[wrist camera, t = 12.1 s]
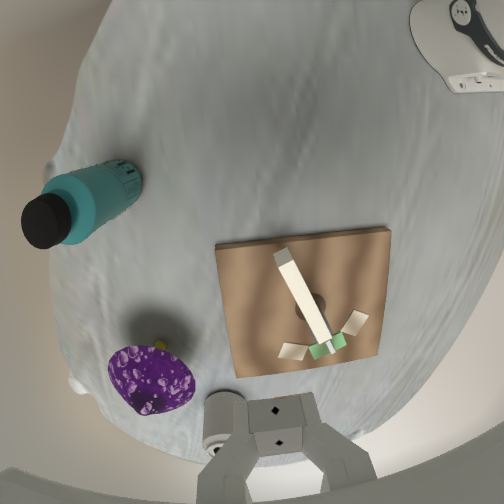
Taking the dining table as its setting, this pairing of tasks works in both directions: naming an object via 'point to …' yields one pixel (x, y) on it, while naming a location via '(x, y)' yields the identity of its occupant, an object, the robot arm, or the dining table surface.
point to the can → (218, 420)
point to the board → (288, 311)
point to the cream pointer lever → (304, 299)
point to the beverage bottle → (80, 203)
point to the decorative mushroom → (151, 378)
